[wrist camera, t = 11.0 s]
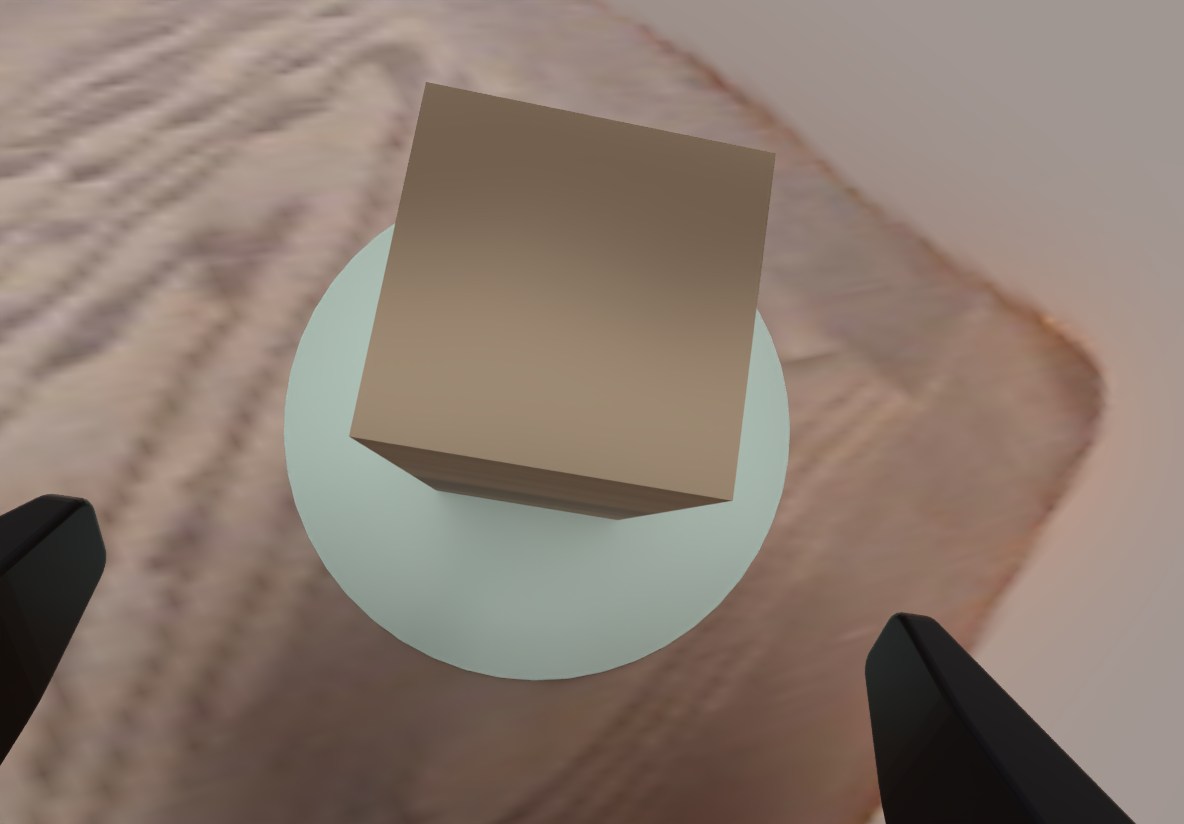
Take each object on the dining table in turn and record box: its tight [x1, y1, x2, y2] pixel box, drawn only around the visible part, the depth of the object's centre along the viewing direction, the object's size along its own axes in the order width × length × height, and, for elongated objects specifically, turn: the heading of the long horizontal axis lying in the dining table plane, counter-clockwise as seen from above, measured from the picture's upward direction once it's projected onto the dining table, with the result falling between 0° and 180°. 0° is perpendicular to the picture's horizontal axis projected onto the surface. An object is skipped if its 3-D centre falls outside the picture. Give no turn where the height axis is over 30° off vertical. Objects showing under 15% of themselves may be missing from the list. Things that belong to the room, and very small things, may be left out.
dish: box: [284, 224, 790, 680], centre depth 22 cm, size 14×14×1 cm
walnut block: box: [349, 82, 775, 520], centre depth 16 cm, size 5×5×11 cm
